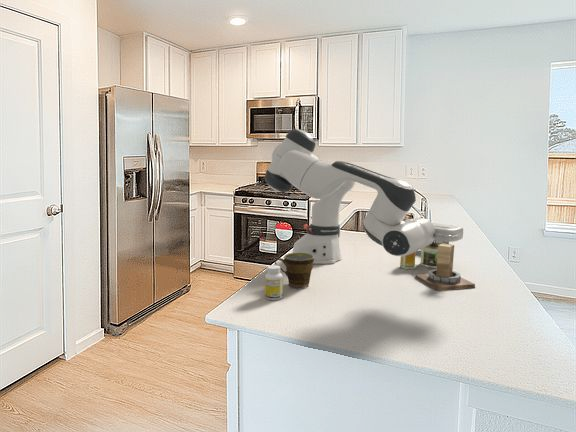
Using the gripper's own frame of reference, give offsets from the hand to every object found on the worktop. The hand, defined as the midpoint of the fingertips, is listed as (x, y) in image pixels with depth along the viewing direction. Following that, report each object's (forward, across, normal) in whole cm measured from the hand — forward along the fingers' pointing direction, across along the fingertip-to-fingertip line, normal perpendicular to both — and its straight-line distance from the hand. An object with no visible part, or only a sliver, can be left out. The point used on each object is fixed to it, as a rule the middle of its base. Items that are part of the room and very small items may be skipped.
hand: (436, 225), depth 140 cm
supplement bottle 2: (+20, +18, +22) cm, 34 cm away
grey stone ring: (+10, 0, +20) cm, 23 cm away
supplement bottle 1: (-39, +35, +21) cm, 56 cm away
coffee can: (+30, +11, +22) cm, 39 cm away
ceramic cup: (-26, +37, +21) cm, 50 cm away
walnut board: (+10, 0, +21) cm, 24 cm away
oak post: (+10, 0, +20) cm, 22 cm away
